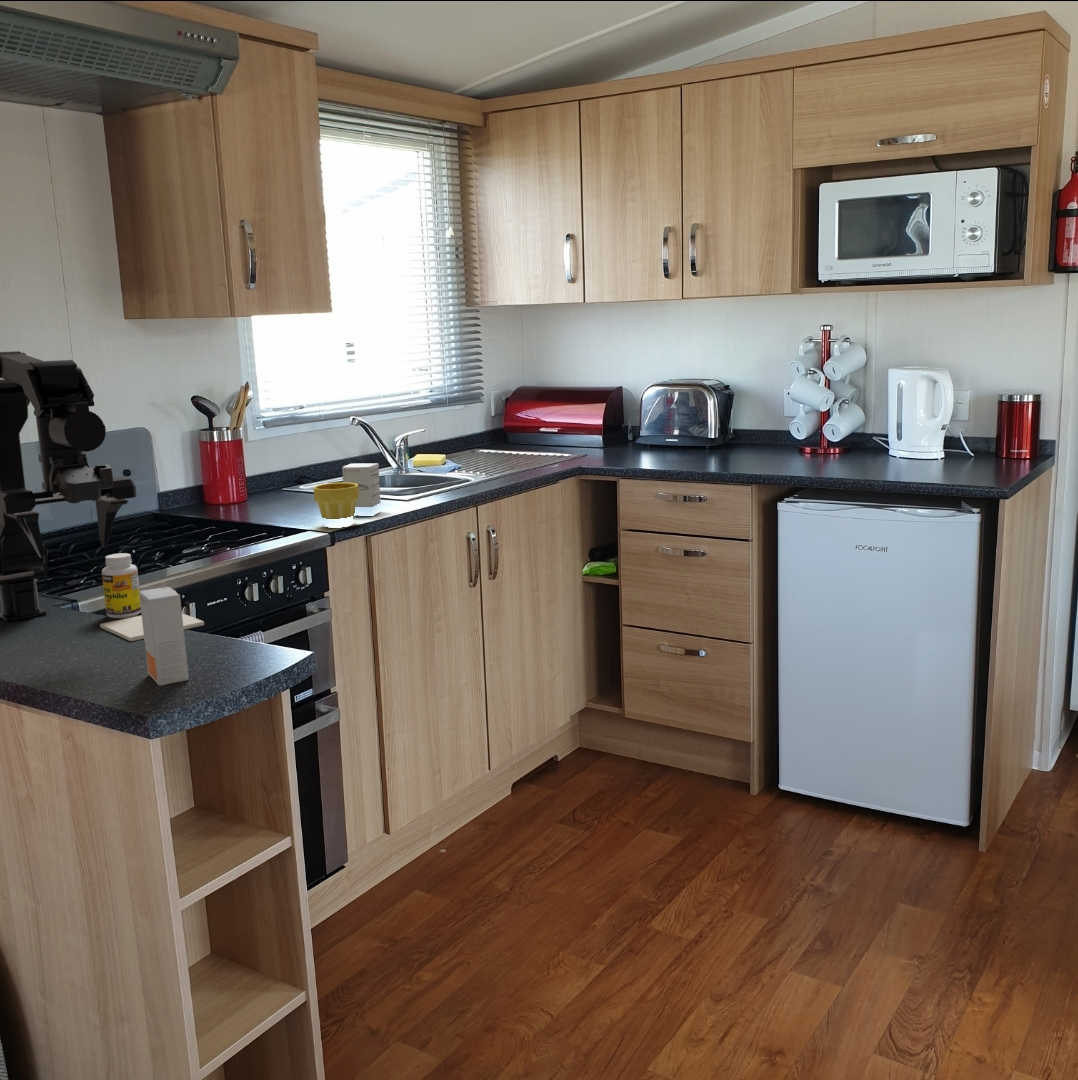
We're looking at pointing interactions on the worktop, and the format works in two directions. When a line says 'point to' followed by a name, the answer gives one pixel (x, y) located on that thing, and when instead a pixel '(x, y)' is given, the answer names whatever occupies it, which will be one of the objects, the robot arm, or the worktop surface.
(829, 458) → the worktop surface
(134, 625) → the mat
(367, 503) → the supplement box
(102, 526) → the robot arm
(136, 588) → the supplement bottle
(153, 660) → the skincare box
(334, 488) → the plant pot
